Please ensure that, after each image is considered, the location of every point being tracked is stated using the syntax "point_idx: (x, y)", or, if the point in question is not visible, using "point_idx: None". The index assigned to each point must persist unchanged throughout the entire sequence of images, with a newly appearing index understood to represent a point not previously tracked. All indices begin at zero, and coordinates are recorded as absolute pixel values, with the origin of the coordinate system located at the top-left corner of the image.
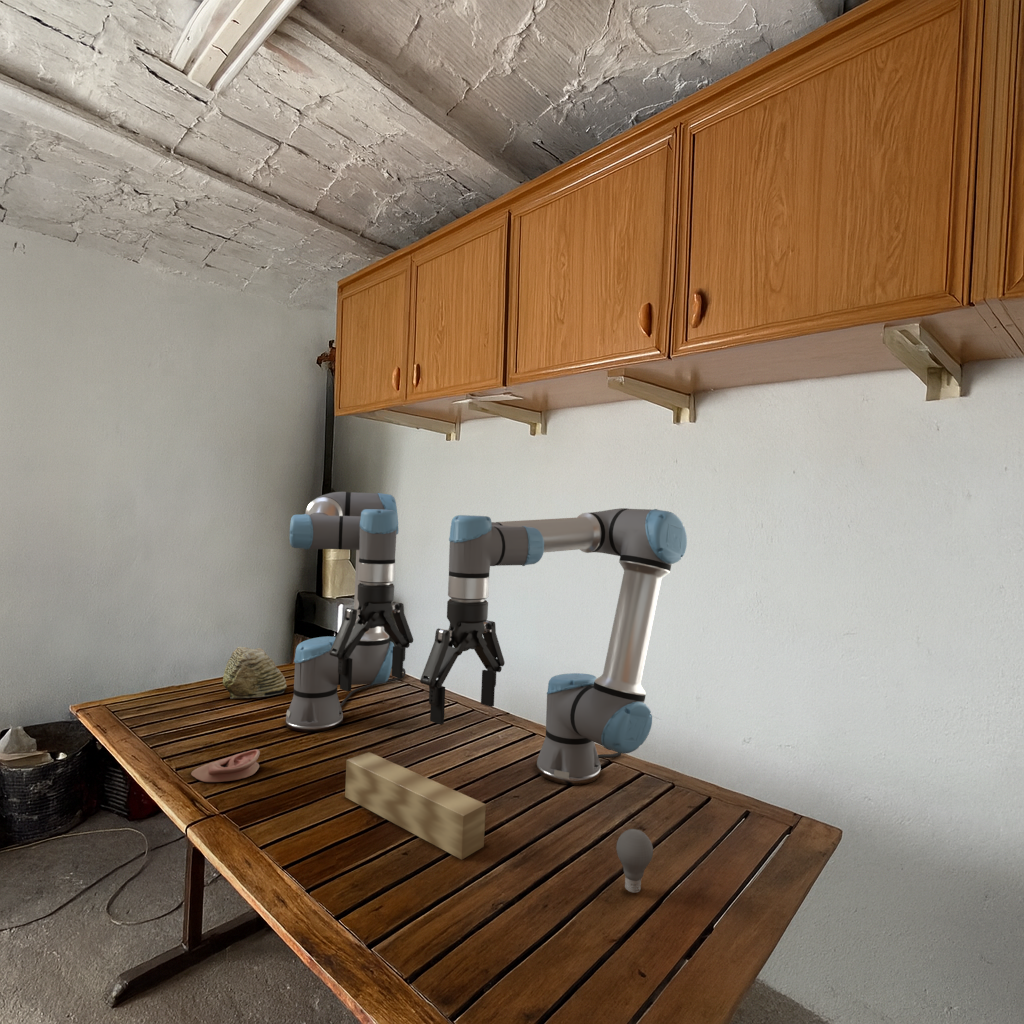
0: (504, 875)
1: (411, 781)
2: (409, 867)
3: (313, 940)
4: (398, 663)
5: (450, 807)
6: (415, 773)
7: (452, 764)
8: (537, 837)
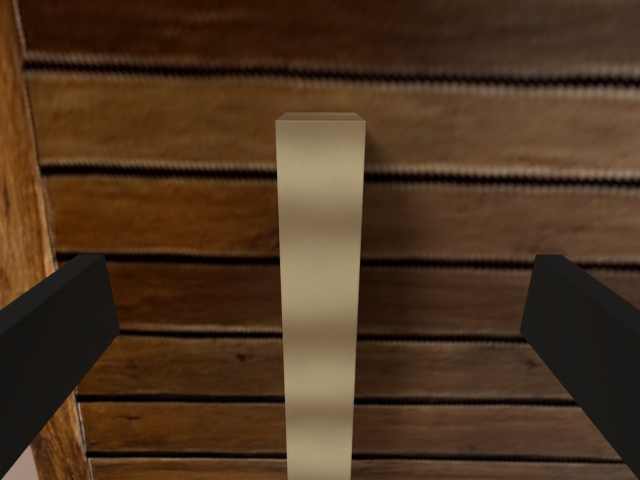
0: None
1: (315, 342)
2: (222, 385)
3: None
4: (585, 383)
5: (292, 457)
6: (353, 319)
7: (601, 165)
8: (423, 455)
